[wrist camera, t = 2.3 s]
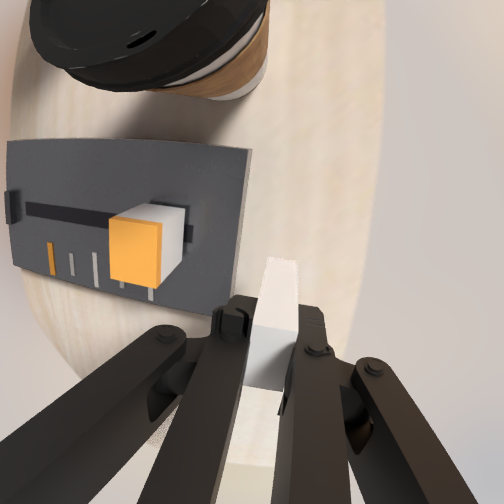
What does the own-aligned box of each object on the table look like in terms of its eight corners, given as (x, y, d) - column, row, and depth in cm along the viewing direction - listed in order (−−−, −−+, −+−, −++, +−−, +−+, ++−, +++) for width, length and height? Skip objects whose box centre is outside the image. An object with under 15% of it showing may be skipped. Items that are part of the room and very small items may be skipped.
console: (21, 139, 22) (1, 141, 20) (252, 149, 21) (246, 149, 18) (25, 258, 26) (8, 267, 24) (232, 306, 25) (225, 324, 22)
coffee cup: (188, 136, 21) (29, 139, 7) (154, 39, 19) (9, -37, 5) (304, 95, 19) (325, -4, 5) (261, -4, 17) (214, -152, 3)
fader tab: (143, 203, 20) (108, 218, 16) (185, 208, 20) (157, 226, 16) (142, 253, 22) (110, 278, 17) (181, 260, 21) (156, 288, 17)
